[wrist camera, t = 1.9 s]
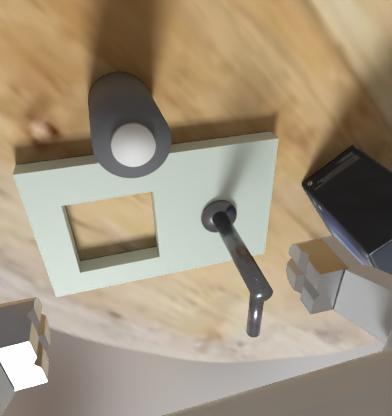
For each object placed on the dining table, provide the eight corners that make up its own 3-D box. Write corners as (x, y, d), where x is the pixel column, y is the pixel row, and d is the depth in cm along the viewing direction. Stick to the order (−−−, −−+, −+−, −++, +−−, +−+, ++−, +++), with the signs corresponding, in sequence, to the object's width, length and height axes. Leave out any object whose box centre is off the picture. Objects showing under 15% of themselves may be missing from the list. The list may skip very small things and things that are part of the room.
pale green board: (15, 165, 26) (12, 174, 24) (270, 131, 30) (278, 138, 29) (57, 285, 33) (56, 297, 32) (258, 244, 37) (264, 253, 36)
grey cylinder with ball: (82, 74, 24) (84, 112, 18) (148, 68, 25) (171, 102, 19) (94, 136, 26) (99, 187, 20) (153, 129, 27) (175, 176, 21)
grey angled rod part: (200, 203, 30) (242, 283, 23) (236, 197, 31) (288, 272, 23) (201, 260, 34) (237, 345, 26) (233, 254, 35) (276, 335, 27)
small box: (295, 185, 34) (366, 257, 26) (353, 142, 33) (447, 202, 25) (332, 243, 40) (400, 316, 32) (382, 208, 39) (465, 274, 31)
